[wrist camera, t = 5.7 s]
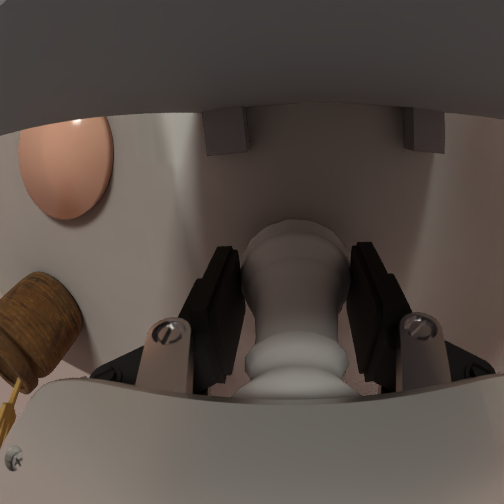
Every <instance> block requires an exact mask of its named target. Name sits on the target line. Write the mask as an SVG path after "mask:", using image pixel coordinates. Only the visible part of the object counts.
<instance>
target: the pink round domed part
mask: <svg viewBox="0 0 504 504" xmlns="http://www.w3.org/2000/svg"><path fill="white" fill-rule="evenodd" d="M18 156H19V167H20V172H21V176H22V180H23V182H24V185H25V187H26V190H27V192H28V194H29V195H30V197H31V198H32V200H33V201H34V203H35V204H36V205H37V206H38V207H39V208H40V209H41V210H42V211H43V212H45V213H46V214H48V215H50V216H52V217H54V218H57V219H63V220H67V219H73V218H76V217H78V216H81V215H82V214H84V213H85V212H87V211H88V210H90V209H91V208H93V207H94V206H95V205H96V204H97V203H98V201H99V200H100V199H101V197H102V196H103V194H104V192H105V190H106V188H107V185H108V183H109V180H110V176H111V172H112V166H113V140H112V134H111V129H110V126H109V123H108V120H107V118H106V116H104V117H95V118H86V119H79V120H72V121H66V122H60V123H54V124H48V125H43V126H38V127H33V128H29V129H24V130H21V134H20V139H19V151H18Z"/></svg>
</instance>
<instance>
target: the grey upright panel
mask: <svg viewBox="0 0 504 504" xmlns="http://www.w3.org/2000/svg"><path fill="white" fill-rule="evenodd" d="M302 103H346V104H369V105H383V106H394V107H403V110H404V148H407V149H410V150H413V151H421V152H432V153H441V154H444V147H445V122H444V113H457V114H467V115H476V116H484V117H492V118H498V119H504V0H0V136H1V135H4V134H8V133H12V132H16V131H20V130H24V129H29V128H33V127H38V126H43V125H48V124H54V123H60V122H66V121H72V120H79V119H86V118H95V117H104V116H114V115H127V114H143V113H202V117H203V126H204V134H205V142H206V150H207V156H212V155H221V154H231V153H241V152H247V151H248V150H249V149H250V146H249V136H248V126H247V117H246V107H253V106H265V105H280V104H302Z"/></svg>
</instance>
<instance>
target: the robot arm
mask: <svg viewBox="0 0 504 504" xmlns="http://www.w3.org/2000/svg"><path fill="white" fill-rule="evenodd" d="M350 271H351V284H350V288H349V292H348V296H347V302H346V307H347V313H348V318H349V323H350V328H351V332H352V337H353V342H354V348H355V353H356V358H357V364H358V370H359V373H360V374H363V373H364V377H365V382H369V381H374V382H375V383H377V384H379V386H378V394H377V395H368V396H358V397H345V398H330V399H301V400H274V399H246V398H229V397H217V396H211V386H212V385H214V384H216V383H225V380H226V376H227V375H231V374H232V371H233V366H234V361H235V357H236V352H237V348H238V343H239V338H240V334H241V329H242V325H243V320H244V315H245V298H244V296H243V294H242V291H241V270H240V263H239V255H238V250H233V247H232V246H221V247H217V249H216V251H215V253H214V255H213V257H212V259H211V261H210V263H209V265H208V267H207V269H206V272H205V274H204V276H203V278H199V279H197V280H196V281H195V283H194V285H193V287H192V289H191V291H190V293H189V295H188V297H187V299H186V301H185V304H184V306H183V308H182V310H181V312H180V314H179V316H178V317H171V318H166V319H163V320H160V321H158V322H157V323H155V324H154V325H153V326H152V327H151V328H150V329H149V331H148V333H147V337H146V341H145V345H144V346H142V347H140V348H138V349H135V350H133V351H131V352H129V353H127V354H125V355H123V356H121V357H119V358H117V359H114V360H112V361H110V362H108V363H106V364H104V365H102V366H100V367H98V368H97V369H96V370H95V371H94V372H93V373H92V374H91V376H90V378H87V377H86V376H84V377H81V378H68V379H59V380H55V381H51V382H48V383H46V384H45V385H43V386H42V387H41V388H40V389H38V390H37V391H36V392H35V394H34V395H33V396H32V397H31V398H30V400H29V401H28V402H27V404H26V405H25V406H24V408H23V410H22V411H21V413H20V414H19V416H18V417H17V419H16V421H15V422H14V424H13V426H12V428H11V429H10V431H9V433H8V435H7V437H6V438H5V440H4V442H3V445H2V447H1V449H0V504H504V373H503V372H500V371H499V372H498V374H496V373H495V370H494V368H493V367H492V366H491V365H490V364H489V363H488V362H486V361H485V360H483V359H481V358H479V357H477V356H475V355H473V354H471V353H469V352H467V351H465V350H463V349H461V348H459V347H457V346H455V345H453V344H451V343H449V342H447V341H445V340H444V337H443V332H442V328H441V326H440V323H439V322H438V321H437V320H436V319H435V318H433V317H432V316H430V315H428V314H425V313H420V312H414V313H413V312H412V310H411V308H410V306H409V304H408V302H407V300H406V298H405V296H404V294H403V292H402V290H401V288H400V286H399V284H398V282H397V280H396V278H395V276H394V275H393V274H392V273H389V274H388V273H387V271H386V269H385V267H384V265H383V263H382V261H381V259H380V257H379V255H378V253H377V251H376V250H375V248H374V246H373V244H372V242H357V245H356V246H352V250H351V262H350Z"/></svg>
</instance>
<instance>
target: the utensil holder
mask: <svg viewBox="0 0 504 504" xmlns="http://www.w3.org/2000/svg"><path fill="white" fill-rule="evenodd" d="M81 328H82V318H81V314H80V311H79V308H78V306H77V304H76V302H75V300H74V299H73V297H72V296H71V294H70V293H69V292H68V290H67V289H66V288H65V287H64V286H63V285H62V284H61V283H60V282H59V281H58V280H56V279H55V278H54V277H52V276H51V275H49V274H47V273H44V272H33V273H31V274H29V275H28V276H26V277H25V278H23V279H22V280H21V281H20V282H19V283H17V284H16V285H15V286H14V287H13V288H12V289H11V290H10V291H9V292H7V293H6V294H5V295H4V296H3V297H2V298H1V299H0V376H1V377H2V378H3V379H4V380H5V381H6V382H7V383H8V384H10V385H11V386H12V387H13V388H14V389H13V391H12V394H11V397H10V400H9V402H8V403H3V404H2V405H1V408H0V429H1V430H0V449H1V447H2V443H3V440H5V438H6V437H7V435H8V433H9V431H10V429H11V428H12V426H13V424H14V422H15V419H16V414H15V410H14V405H15V402H16V399H17V396H18V393H19V392H21V393H23V394H29V393H31V392H32V391H33V390H34V389H35V388H36V387H37V385H38V378H43V377H46V376H47V375H49V374H50V373H51V372H52V371H53V370H54V369H55V368H56V366H57V365H58V364H59V362H60V361H61V360H62V358H63V357H64V355H65V354H66V353H67V351H68V350H69V349H70V347H71V346H72V344H73V343H74V342H75V340H76V338H77V337H78V335H79V333H80V331H81ZM4 436H5V437H4Z"/></svg>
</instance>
